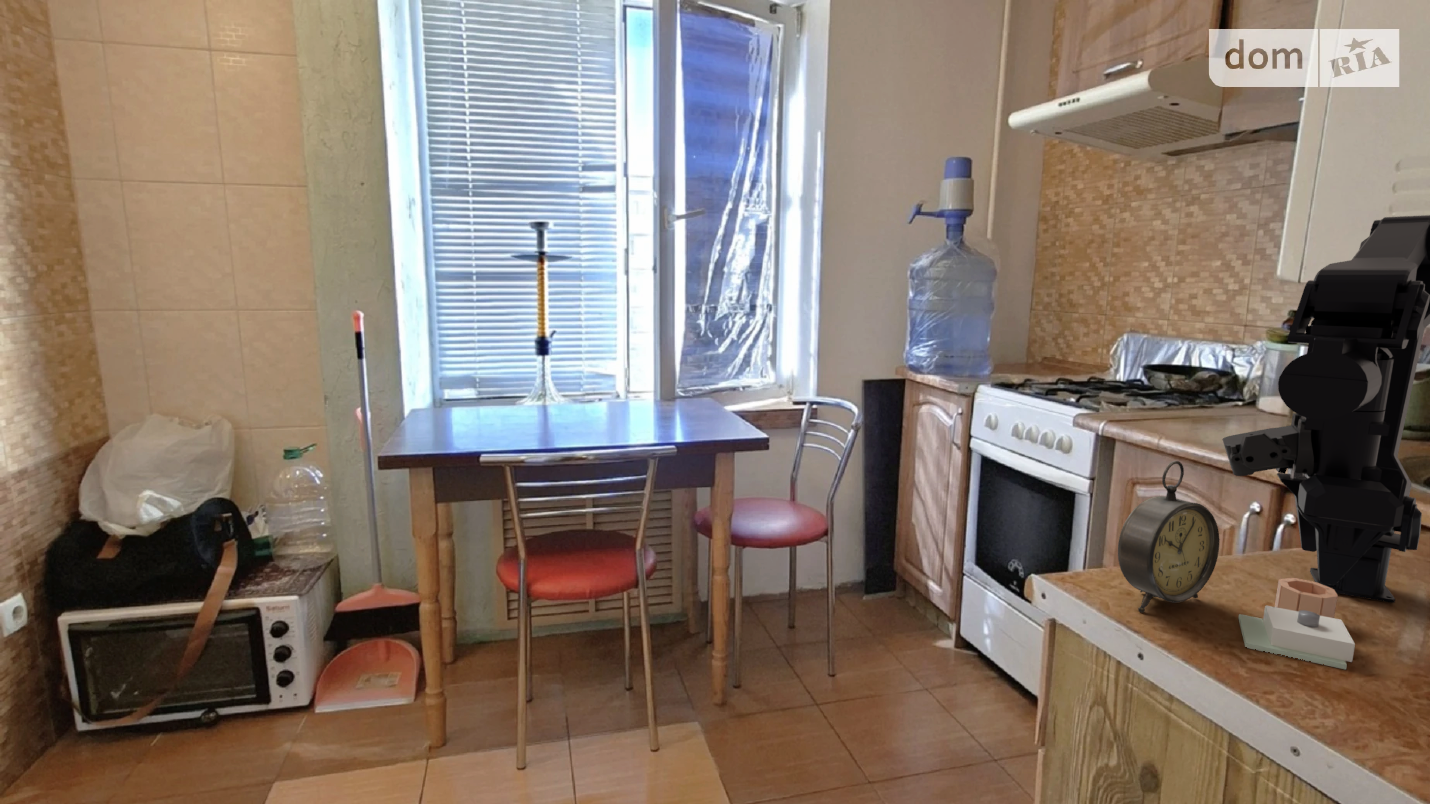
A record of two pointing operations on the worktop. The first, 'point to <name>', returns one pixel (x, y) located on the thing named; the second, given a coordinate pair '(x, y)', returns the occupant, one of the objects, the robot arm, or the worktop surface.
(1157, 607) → the worktop surface
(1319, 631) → the cover
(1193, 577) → the alarm clock
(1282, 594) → the bowl
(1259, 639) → the mat
